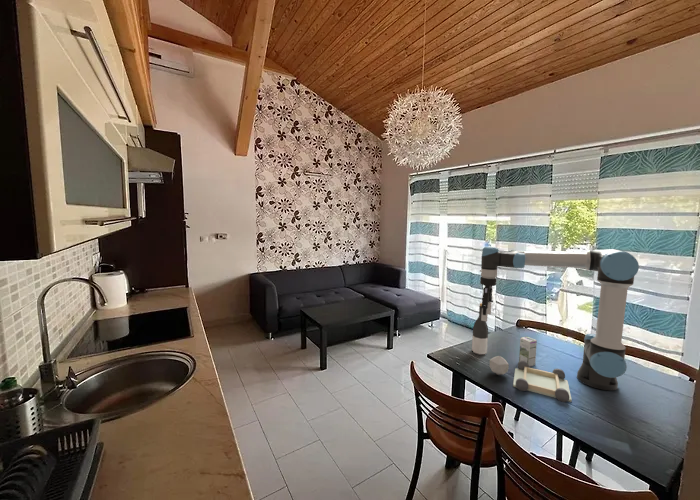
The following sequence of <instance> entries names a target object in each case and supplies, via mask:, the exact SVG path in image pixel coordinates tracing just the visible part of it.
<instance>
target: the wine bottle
mask: <svg viewBox="0 0 700 500" xmlns="http://www.w3.org/2000/svg"><path fill="white" fill-rule="evenodd" d="M480 306H482V302H480V303H479V306H478V307H479V309H478V310H479V312H478V316H477V319H476V320H475V322H474V324H473V327H472V342H471V343H472V345H471V352H472V351H473V352H474V353H475V354H474V353H473V352H472V353H473V354H474V355H477V354H478V356H486V355H487V354H488V340H489V327H488V323H487V322H486V321H481V315H482V308H480ZM485 354H486V355H485Z"/></svg>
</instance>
